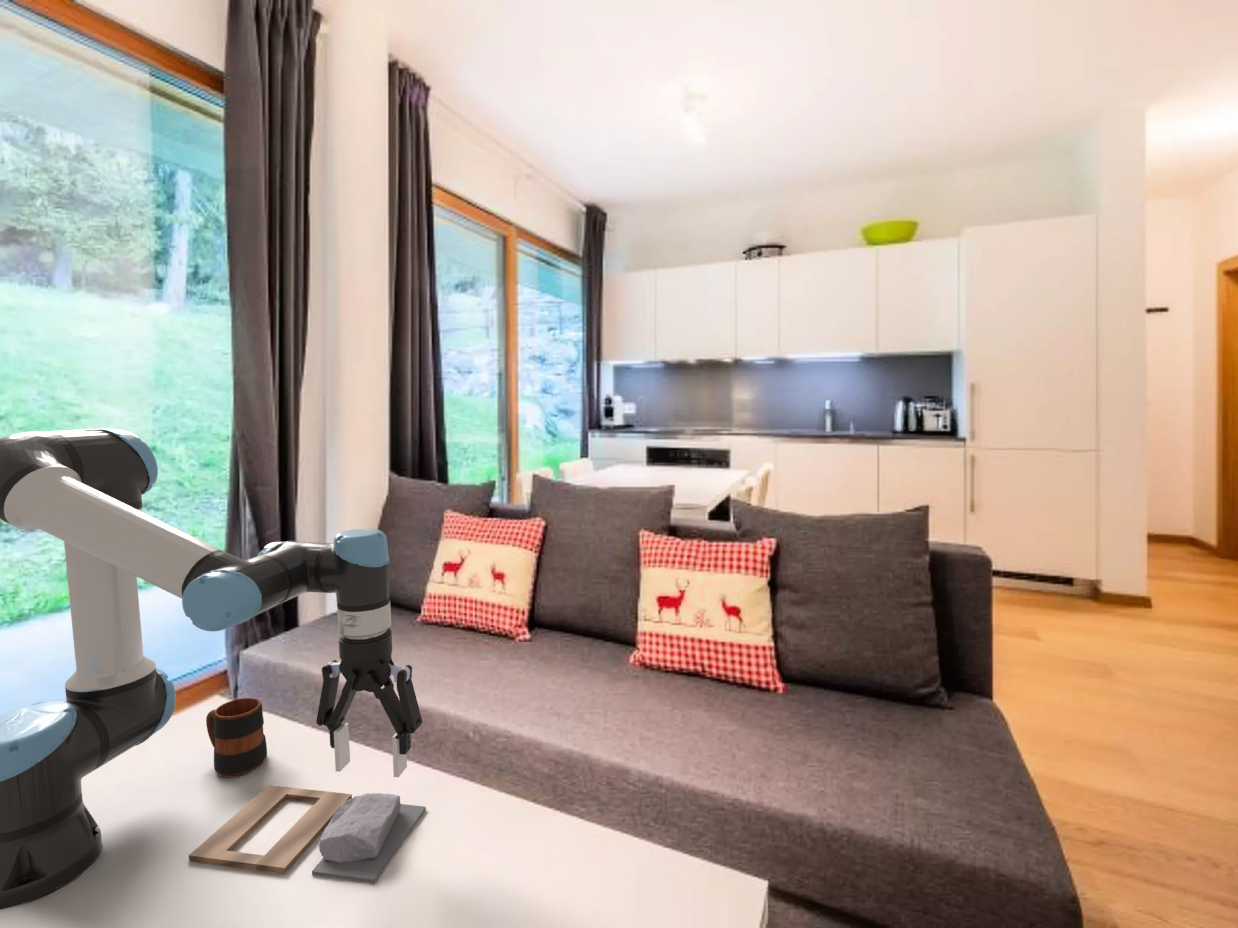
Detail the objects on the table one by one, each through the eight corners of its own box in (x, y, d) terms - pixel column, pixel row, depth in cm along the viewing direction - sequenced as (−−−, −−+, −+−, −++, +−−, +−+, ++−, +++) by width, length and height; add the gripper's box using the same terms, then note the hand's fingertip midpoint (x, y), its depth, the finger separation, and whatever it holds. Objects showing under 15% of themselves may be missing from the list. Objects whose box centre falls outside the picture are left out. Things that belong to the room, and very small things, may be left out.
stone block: (316, 874, 91) (382, 860, 91) (308, 844, 90) (375, 830, 91) (348, 822, 103) (406, 809, 103) (341, 795, 102) (400, 783, 102)
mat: (312, 874, 89) (311, 870, 89) (371, 803, 105) (371, 800, 105) (375, 883, 88) (374, 879, 88) (425, 809, 104) (425, 806, 103)
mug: (230, 746, 122) (226, 690, 121) (278, 756, 119) (274, 699, 117) (189, 771, 114) (185, 712, 113) (239, 782, 110) (235, 722, 109)
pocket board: (189, 861, 92) (188, 855, 92) (269, 790, 108) (269, 784, 108) (285, 873, 89) (284, 867, 89) (351, 799, 106) (351, 793, 106)
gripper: (284, 636, 91) (292, 777, 93) (420, 644, 87) (425, 790, 90) (316, 618, 98) (323, 749, 100) (443, 625, 95) (447, 760, 97)
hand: (371, 768), depth 95 cm, fingers open, 9 cm apart
